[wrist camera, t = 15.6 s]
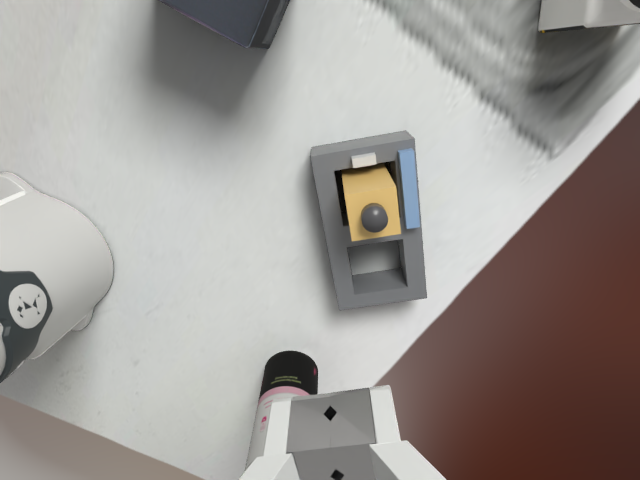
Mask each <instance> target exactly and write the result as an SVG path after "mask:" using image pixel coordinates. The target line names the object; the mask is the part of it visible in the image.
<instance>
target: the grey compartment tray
mask: <svg viewBox="0 0 640 480" xmlns="http://www.w3.org/2000/svg"><path fill="white" fill-rule="evenodd" d="M310 157H311V163H312V168H313V173H314V179H315V184H316V189H317V195H318V200H319V205H320V210H321V216H322V221H323V226H324V232H325V237H326V242H327V248H328V253H329V258H330V264H331V269H332V274H333V280H334V285H335V290H336V296H337V301H338V306H339V310H346V309H353V308H360V307H367V306H374V305H381V304H389V303H396V302H403V301H410V300H417V299H424V298H427V291H426V279H425V266H424V253H423V241H422V228H421V215H420V202H419V190H418V177H417V164H416V152H415V139H414V137H412V136H411V135H410V134H409V133H408V132H407V131H400V132H395V133H389V134H383V135H378V136H372V137H366V138H361V139H355V140H349V141H344V142H338V143H332V144H326V145H321V146H315V147H312V149H311V156H310ZM389 161H390V169H391V178H392V180H393V182H394V184H395V185H396V189H397V199H398V209H399V218H400V228H401V234H397V235H390V236H384V237H378V238H371V239H365V240H358V241H352V239H351V233H350V226H349V220H348V214H347V211H341V205H340V199H339V193H338V187H337V181H336V175H335V171H336V170H342V169H347V168H358V167H363V166H369V165H375V164H377V163H383V162H389ZM392 240H398V244H399V253H400V263H401V268H399V269H392V270H385V271H378V272H371V273H365V274H358V275H352V272H351V266H350V260H349V254H348V248H347V247H353V246H360V245H366V244H373V243H379V242H386V241H392Z"/></svg>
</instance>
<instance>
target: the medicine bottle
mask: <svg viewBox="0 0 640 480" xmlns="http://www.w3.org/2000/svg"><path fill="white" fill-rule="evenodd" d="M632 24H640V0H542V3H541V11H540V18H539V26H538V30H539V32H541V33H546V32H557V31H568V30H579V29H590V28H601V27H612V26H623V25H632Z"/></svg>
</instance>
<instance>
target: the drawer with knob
mask: <svg viewBox="0 0 640 480" xmlns="http://www.w3.org/2000/svg"><path fill="white" fill-rule="evenodd" d="M341 172H342V180H343V187H344V195H345V201H346V208H347V214H348V220H349V226H350V233H351V239H352V241H358V240H365V239H371V238H378V237H384V236H390V235H397V234H401V228H400V218H399V209H398V199H397V189H396V185H395V184H394V182H393V180H392V178H391V176H390V174H389V172H388V171H387V169H386V167H385V165H384V163H377V164H375V165H369V166H363V167H358V168H347V169H342V170H341Z"/></svg>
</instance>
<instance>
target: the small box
mask: <svg viewBox="0 0 640 480" xmlns="http://www.w3.org/2000/svg"><path fill="white" fill-rule="evenodd" d="M159 1H161V2H162V3H164V4H166V5H168V6H169V7H171V8H173V9H175V10H176V11H178V12H180V13H181V14H183V15H185V16H187V17H189V18H191V19H192V20H194V21H196V22H198V23H200V24H202V25H204V26H205V27H207V28H209V29H211V30H213V31H215V32H216V33H218V34H220V35H222V36H224V37H226V38H227V39H229V40H231V41H233V42H235V43H237V44H239V45H241V46H243V47H245V48H263V49H268V48H269V47H270V45H271V43H272V40H273V38H274V36H275V34H276V32H277V29H278V27H279V24H280V22H281V20H282V17H283V15H284V13H285V10H286V8H287V6H288V3H289V1H290V0H159Z"/></svg>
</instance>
